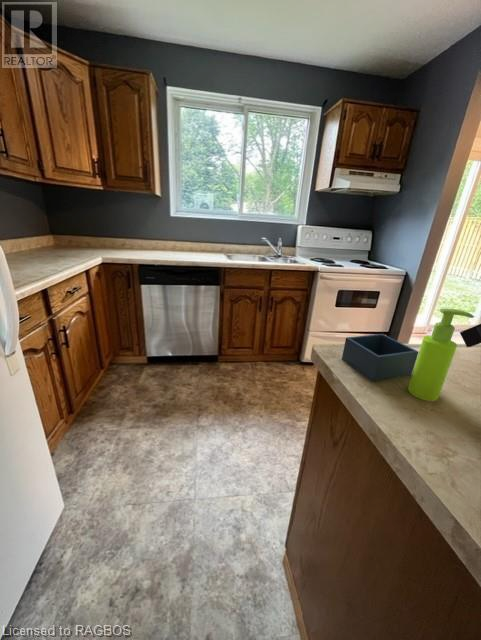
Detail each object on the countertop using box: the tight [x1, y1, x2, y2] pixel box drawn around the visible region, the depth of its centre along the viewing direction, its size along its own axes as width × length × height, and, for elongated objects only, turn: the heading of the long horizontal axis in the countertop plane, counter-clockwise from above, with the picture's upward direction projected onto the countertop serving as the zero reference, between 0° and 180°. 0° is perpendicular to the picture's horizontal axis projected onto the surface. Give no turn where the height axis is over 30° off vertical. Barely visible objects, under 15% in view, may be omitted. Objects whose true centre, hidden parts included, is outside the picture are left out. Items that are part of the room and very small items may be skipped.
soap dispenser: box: [407, 308, 476, 402], centre depth 58 cm, size 6×7×20 cm
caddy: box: [341, 333, 419, 382], centre depth 71 cm, size 13×12×7 cm
